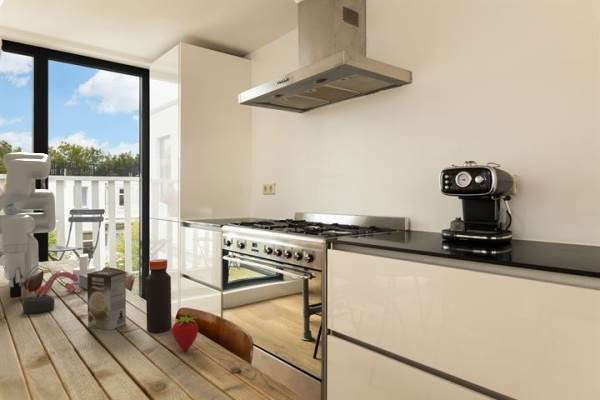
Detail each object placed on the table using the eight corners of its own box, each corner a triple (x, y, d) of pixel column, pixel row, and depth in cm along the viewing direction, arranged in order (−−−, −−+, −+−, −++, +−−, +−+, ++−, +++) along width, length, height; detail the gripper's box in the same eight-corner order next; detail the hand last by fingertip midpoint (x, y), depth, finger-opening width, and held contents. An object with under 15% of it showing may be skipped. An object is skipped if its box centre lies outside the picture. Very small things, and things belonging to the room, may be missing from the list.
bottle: (148, 335, 106) (147, 263, 106) (145, 327, 112) (144, 259, 112) (173, 330, 109) (172, 261, 109) (169, 323, 115) (168, 257, 115)
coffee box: (86, 327, 113) (85, 273, 113) (103, 320, 119) (103, 269, 119) (110, 330, 110) (109, 275, 110) (127, 323, 116) (126, 270, 116)
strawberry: (190, 343, 99) (189, 305, 99) (203, 352, 94) (203, 311, 93) (168, 349, 95) (167, 310, 95) (180, 359, 90) (179, 317, 90)
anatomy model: (86, 283, 155) (53, 255, 148) (53, 313, 148) (17, 286, 141) (81, 278, 164) (50, 252, 157) (50, 307, 157) (16, 281, 150)
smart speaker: (57, 310, 131) (57, 298, 131) (26, 316, 124) (26, 304, 124) (50, 305, 137) (50, 294, 137) (20, 311, 130) (20, 299, 130)
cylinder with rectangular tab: (74, 280, 178) (73, 254, 178) (96, 278, 182) (95, 253, 182) (72, 284, 170) (71, 257, 170) (94, 282, 174) (94, 255, 174)
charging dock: (79, 286, 166) (79, 273, 166) (84, 285, 167) (84, 273, 167) (91, 291, 155) (91, 278, 155) (96, 291, 157) (96, 277, 157)
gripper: (-2, 248, 147) (-1, 295, 147) (6, 251, 136) (6, 302, 137) (22, 246, 152) (23, 292, 152) (31, 249, 142) (32, 298, 142)
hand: (15, 297), depth 144 cm, fingers closed
